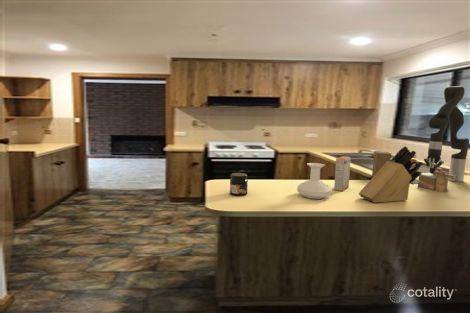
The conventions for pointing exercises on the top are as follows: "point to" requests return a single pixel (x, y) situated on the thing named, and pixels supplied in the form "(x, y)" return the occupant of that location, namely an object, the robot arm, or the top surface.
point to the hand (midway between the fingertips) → (432, 173)
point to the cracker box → (342, 173)
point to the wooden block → (380, 161)
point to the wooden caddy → (434, 182)
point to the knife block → (392, 179)
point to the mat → (415, 181)
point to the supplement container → (238, 184)
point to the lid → (432, 174)
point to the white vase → (314, 184)
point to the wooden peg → (445, 175)
